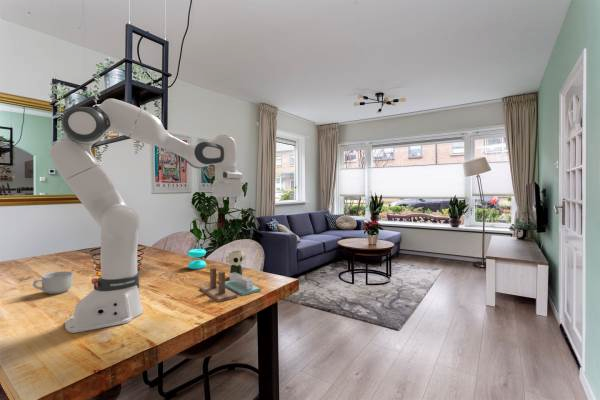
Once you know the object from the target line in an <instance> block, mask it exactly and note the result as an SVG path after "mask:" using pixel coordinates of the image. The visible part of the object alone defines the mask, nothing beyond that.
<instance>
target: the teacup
mask: <svg viewBox="0 0 600 400" xmlns="http://www.w3.org/2000/svg"><path fill="white" fill-rule="evenodd" d="M73 275H74V272H73V271H68V270H60V271H52V272H47V273H43V275H41V278H37V279H35V280H33V282H32V286H33V288H34V289H37V290H39V291H41V292H44V293H46V294H49V295H57V294H63V293H65V292H67V291H68V290H69V289H71V288H72V285H73V280H74V279H73V278H74V277H73ZM38 282H40V283H41V287H40V286H38V285H37V284H38Z"/></svg>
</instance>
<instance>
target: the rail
mask: <svg viewBox="0 0 600 400" xmlns="http://www.w3.org/2000/svg"><path fill="white" fill-rule="evenodd" d="M229 281H230V282H231V283H233V284H235V285H237V286H239V287H241V288H243V289H245V290H250V289H253V285H254V283H253V282H254V280H253V279H252V278H250V277H247V276H245V275H243V274H242V275H241V274H238V273H236V272H234V273H230V272H229Z"/></svg>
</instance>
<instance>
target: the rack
mask: <svg viewBox="0 0 600 400" xmlns="http://www.w3.org/2000/svg"><path fill="white" fill-rule="evenodd" d="M209 276H210V277H209V284H207V285H206V284H205V285H203V286H202V285H201V286H199V290H200V291H201V292H203V293H205V294H206V295H208V296H209V297H211V298H212V299H214V300H215V301H217V302H218V303H221V302H224V301H228V300H232V299H233V300H234V299H237V298H238V293H236V292H235V291H233V290H231V289H229V288H227V287H225V282H226V272H225V271H222V270H221V271H218V283H217V268H216V267H214V266H213V267H209Z"/></svg>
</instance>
